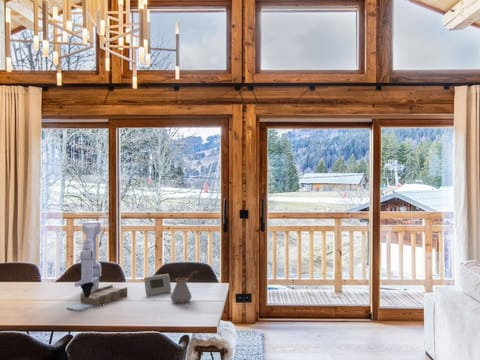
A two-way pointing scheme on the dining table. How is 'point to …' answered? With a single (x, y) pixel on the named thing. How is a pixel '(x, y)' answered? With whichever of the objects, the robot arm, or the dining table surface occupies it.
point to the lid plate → (80, 306)
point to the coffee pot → (181, 291)
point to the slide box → (104, 295)
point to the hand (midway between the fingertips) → (87, 296)
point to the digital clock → (157, 284)
